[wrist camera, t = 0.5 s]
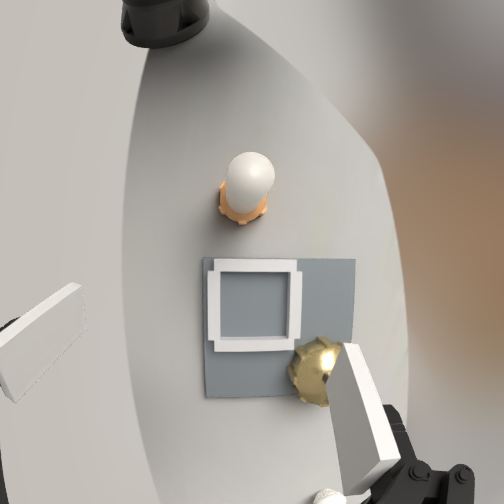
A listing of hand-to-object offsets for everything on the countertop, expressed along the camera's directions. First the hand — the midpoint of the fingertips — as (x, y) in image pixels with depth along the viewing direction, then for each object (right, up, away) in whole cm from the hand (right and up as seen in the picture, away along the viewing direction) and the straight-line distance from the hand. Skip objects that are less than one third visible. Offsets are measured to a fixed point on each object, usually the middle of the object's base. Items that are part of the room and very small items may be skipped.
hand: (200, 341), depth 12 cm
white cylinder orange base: (+1, +10, +22) cm, 24 cm away
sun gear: (+11, -11, +22) cm, 27 cm away
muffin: (+15, -40, +23) cm, 48 cm away
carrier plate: (+6, -6, +22) cm, 24 cm away
